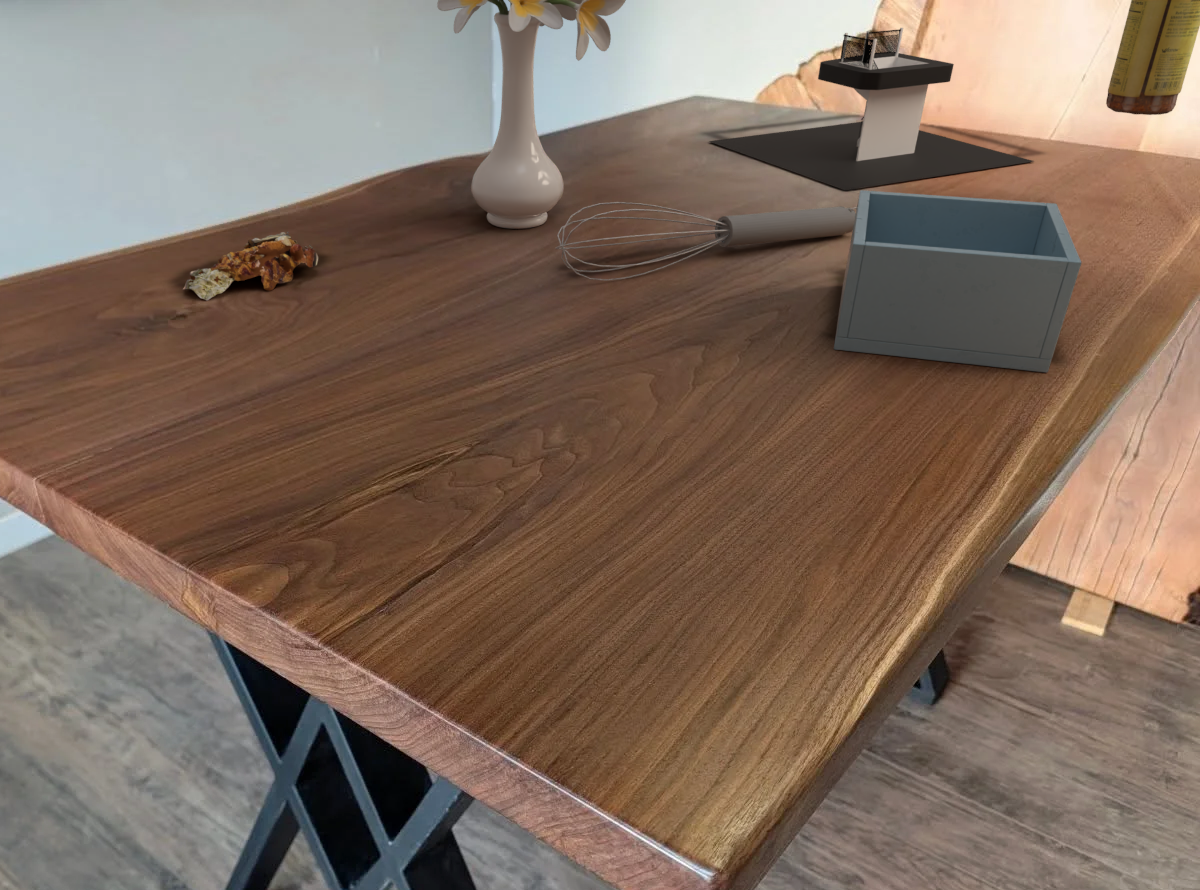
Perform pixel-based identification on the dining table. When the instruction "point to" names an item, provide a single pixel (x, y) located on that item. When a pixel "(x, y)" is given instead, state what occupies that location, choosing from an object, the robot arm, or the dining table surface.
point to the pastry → (253, 265)
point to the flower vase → (526, 106)
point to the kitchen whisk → (733, 230)
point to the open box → (957, 280)
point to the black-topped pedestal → (874, 125)
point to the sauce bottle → (1153, 56)
